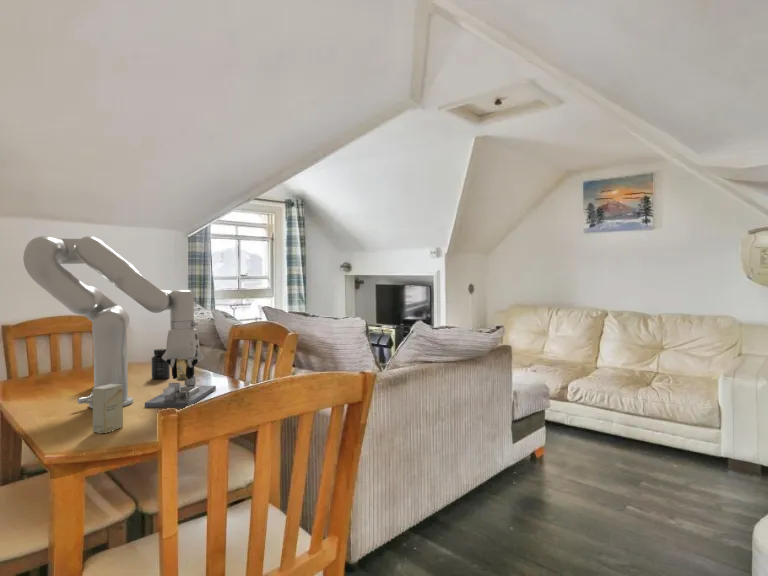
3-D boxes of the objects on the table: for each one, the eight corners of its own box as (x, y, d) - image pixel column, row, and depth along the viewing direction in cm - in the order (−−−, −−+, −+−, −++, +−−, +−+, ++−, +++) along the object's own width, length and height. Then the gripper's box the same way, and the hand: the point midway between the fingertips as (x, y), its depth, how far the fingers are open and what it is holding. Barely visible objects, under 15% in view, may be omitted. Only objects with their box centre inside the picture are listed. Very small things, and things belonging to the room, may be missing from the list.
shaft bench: (187, 407, 152) (187, 387, 151) (144, 407, 152) (144, 387, 152) (215, 389, 176) (215, 372, 175) (178, 389, 176) (178, 372, 176)
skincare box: (105, 434, 126) (104, 389, 125) (91, 433, 127) (91, 388, 127) (124, 427, 132) (123, 384, 131) (111, 425, 133) (110, 383, 133)
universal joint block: (186, 381, 161) (185, 360, 161) (173, 381, 161) (173, 360, 161) (193, 377, 167) (193, 357, 167) (181, 377, 167) (180, 357, 167)
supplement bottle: (173, 376, 198) (172, 348, 198) (164, 380, 191) (163, 350, 191) (157, 376, 199) (157, 348, 199) (148, 379, 192) (147, 350, 192)
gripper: (210, 324, 167) (211, 375, 167) (163, 324, 167) (164, 375, 168) (202, 326, 159) (202, 380, 160) (152, 326, 160) (153, 380, 160)
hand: (183, 377), depth 164 cm, fingers closed on universal joint block, 4 cm apart
